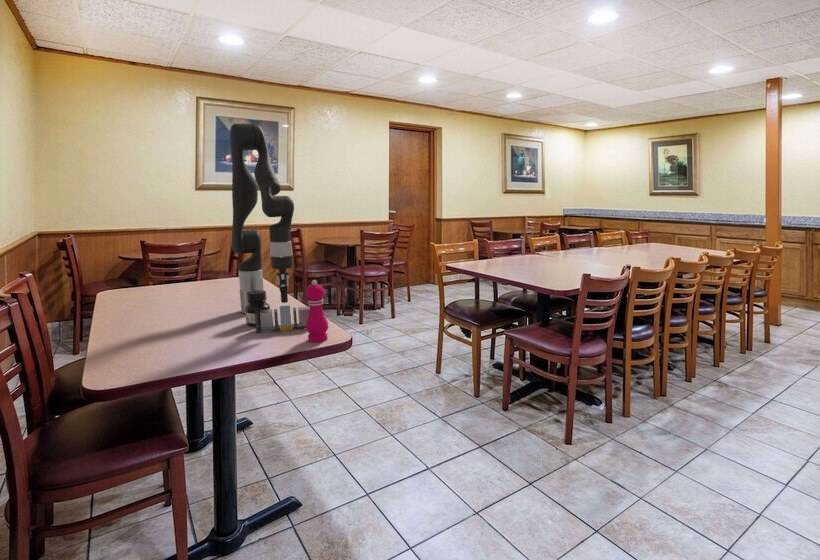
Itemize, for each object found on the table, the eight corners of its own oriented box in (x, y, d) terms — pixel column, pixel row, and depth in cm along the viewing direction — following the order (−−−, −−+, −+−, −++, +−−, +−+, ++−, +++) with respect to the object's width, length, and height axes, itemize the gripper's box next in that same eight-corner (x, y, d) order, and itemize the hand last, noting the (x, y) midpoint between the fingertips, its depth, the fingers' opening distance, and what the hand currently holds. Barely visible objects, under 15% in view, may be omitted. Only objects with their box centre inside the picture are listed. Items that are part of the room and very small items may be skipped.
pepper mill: (317, 335, 166) (314, 277, 163) (333, 338, 162) (330, 279, 158) (302, 341, 160) (298, 281, 157) (318, 344, 156) (314, 282, 153)
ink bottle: (245, 321, 186) (242, 290, 184) (269, 318, 189) (266, 288, 187) (247, 328, 177) (245, 295, 175) (272, 325, 181) (270, 293, 178)
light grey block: (281, 326, 172) (279, 306, 172) (281, 324, 177) (279, 305, 177) (291, 325, 173) (289, 305, 173) (291, 323, 178) (289, 304, 177)
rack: (256, 333, 170) (254, 313, 169) (256, 329, 175) (255, 310, 174) (316, 328, 175) (314, 309, 174) (315, 324, 180) (314, 306, 178)
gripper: (270, 252, 176) (273, 296, 179) (269, 257, 163) (273, 305, 166) (292, 250, 178) (294, 294, 181) (293, 256, 164) (296, 303, 168)
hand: (284, 299), depth 173 cm, fingers open, 8 cm apart
